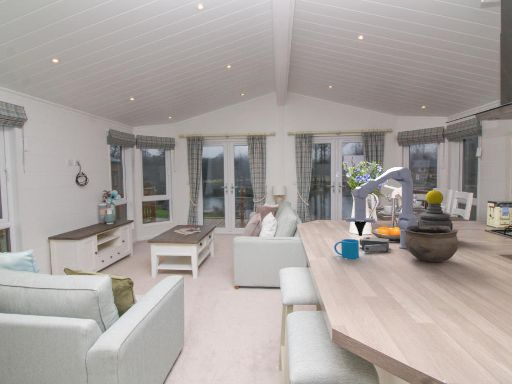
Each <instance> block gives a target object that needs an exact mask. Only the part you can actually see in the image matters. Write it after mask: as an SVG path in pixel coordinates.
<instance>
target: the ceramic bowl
mask: <svg viewBox="0 0 512 384" xmlns="http://www.w3.org/2000/svg"><path fill="white" fill-rule="evenodd" d="M404 230H405V232H406V236H405V245H406V247H407V248H406V249H407V250H408V251H409V252H410V254H412V255H413V257H414V258H416V259H418V260H421V261H424V262H431V263H444V262H446V261H448V260H450V259H451V258H452V257H454V256H455V254H456V253H457V251H458V249H459V239H458V237H457V234H458V232H459V229H457V228H454V229H453V231H451V230H450V227H446V226H438V225H437V226H425V225H421V226H418V225H415V226H409V227H406V228H405V229H404Z"/></svg>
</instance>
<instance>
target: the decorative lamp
mask: <svg viewBox="0 0 512 384" xmlns="http://www.w3.org/2000/svg"><path fill="white" fill-rule="evenodd" d="M425 200H426V202H427V204H428V205H427V207H426V210H425V212H421V213H420V214H419V218H418V219H417V223H418V226H421V225H425V226H437V225H438V226H446V227H450V230H451V231H453V230H454V229H453V222H452V221H453V220H452V219H450V218H451V215H450V214H449V213H445V212H444V210H443V208H442V203H443V201H444V194H443V193H442V192H441V191H440V190H436V189H434V190H430V191H428V192H427V193H426V195H425Z"/></svg>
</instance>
